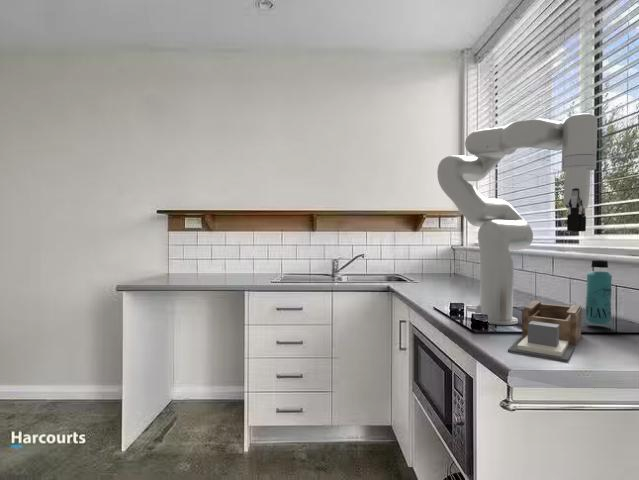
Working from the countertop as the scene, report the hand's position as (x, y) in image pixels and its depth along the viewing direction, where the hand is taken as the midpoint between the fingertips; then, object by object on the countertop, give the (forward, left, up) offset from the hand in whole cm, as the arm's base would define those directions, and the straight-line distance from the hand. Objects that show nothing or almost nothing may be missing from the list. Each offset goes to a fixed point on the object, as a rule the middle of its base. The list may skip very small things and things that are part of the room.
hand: (576, 231), depth 107 cm
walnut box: (-5, +1, -28) cm, 29 cm away
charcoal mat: (-5, -15, -28) cm, 32 cm away
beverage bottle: (+4, +24, -28) cm, 37 cm away
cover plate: (-5, -14, -28) cm, 32 cm away
